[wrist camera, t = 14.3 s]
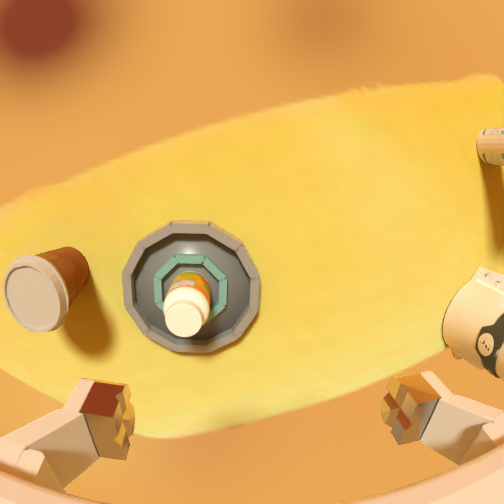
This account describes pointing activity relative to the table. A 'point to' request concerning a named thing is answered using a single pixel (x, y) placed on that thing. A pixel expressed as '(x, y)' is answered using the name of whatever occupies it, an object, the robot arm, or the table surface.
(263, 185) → the table surface
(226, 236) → the round tray
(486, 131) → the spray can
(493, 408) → the robot arm
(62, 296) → the disposable coffee cup
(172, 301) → the supplement bottle
